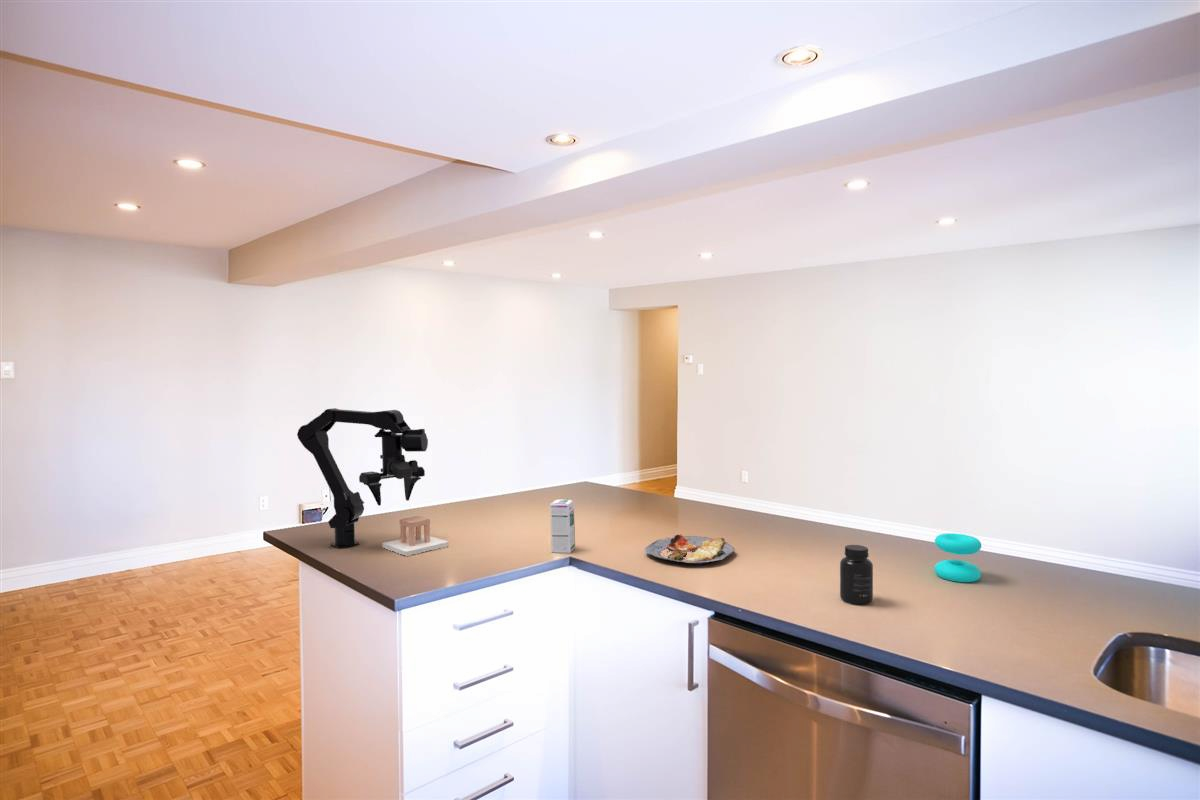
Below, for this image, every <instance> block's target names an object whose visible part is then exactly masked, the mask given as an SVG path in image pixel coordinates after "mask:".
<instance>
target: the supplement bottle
mask: <svg viewBox="0 0 1200 800" xmlns="http://www.w3.org/2000/svg"><path fill="white" fill-rule="evenodd" d="M873 591H874V564H873V561H871V559H869V548H868V547H866V546H864V545H861V544H847V545H846V546H844V556H843V558H841V560H840V563H839V595H840V599H841V600H842V601H843V602H845V603H846V604H849V603H850V605H856V606H867V605H870V604H871V603H872V602H873V599H874V597H873V596H874V592H873Z"/></svg>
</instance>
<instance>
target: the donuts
mask: <svg viewBox="0 0 1200 800" xmlns="http://www.w3.org/2000/svg"><path fill="white" fill-rule="evenodd" d="M934 543H935V545H936V547H937V548H938V549H940V550H941V551H943V552H945V553H948V554H954V555H961V556H962V555H963V556H965V555H966V556H968V555H974V554H976V553H978V552H980V551H981V548H982V542H981V541H980V540H979V539H978V538H976V537H975V536H971V535H967V534H962V533H946V532H945V533H941V534H938V535H936V536H935V538H934ZM934 572H935V574H936V575H937V576H938V577H940V578H941V579H944V580H947V581H952V582H957V583H958V582H959V583H973V582H974V583H975V582H977V581H979V579H980V578H981V576H982V573H981V572H982V571H981V570H980V568H979V567H977V566H976V565H975V564H973V563H971V562H968V561H965V560H959V559H944V560H940V561H938V562H937V563H936V564H935V566H934Z"/></svg>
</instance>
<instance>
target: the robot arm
mask: <svg viewBox="0 0 1200 800" xmlns="http://www.w3.org/2000/svg"><path fill="white" fill-rule="evenodd" d="M336 423H344V424H345V423H347V424H357V425H358V424H359V425H369V426H372V427H374V428H376V429H377V428H378V429H379V430H378V432H376V434H374V436H373V437H375V438H381V454H380V455H379V456H380V459H381V461H382V468H380V472H377V471H366V472H361V473H360V474H359V476H358V480H359V483H362V484H363V485H365V486H367V487H368V488H369V491H370V492H371V494H372V496H373V498H374V500H375V502H376V504H377V506H382V505H381V504H382V495H381V494H382V493H381V487H382V482H381V480H387V479H392V478H396V479H397V480H402V479H403V485H404V486H403V487H404V497H405V500H406V501H410V498H411V496H412V495H411V494H412V492H413V489H414V486H415V484H416V483H417V482H418V481H420V480H421V479H422V477H425V475H426V473H425V472H426V471H425V469H424V467H422V466H419V465H418V460H416V459H412V460H409V461H406V457H405V454H403V450H404V451H405V452H411V453H412V452H415V453H417V452H426V451H427V449H428V447H429V446H428V444H429V438H428V437H427V434H426V433H425V432H426V431H425V428H419V429H418V428H417V429H411V428H410V426H409V425H408V423H407V422H406V421H405V419H404V415H403V413H402V412H401V411H400V410H398V409H390V410H380V411H366V410H365V411H363V410H353V409H352V410H350V409H340V408H335V407H334V408H326V409H325V410H324V411H323V412H322V413H321V414H319V415H318V416H317V417H315V418H313V419H312V420H311V421H309V422H308V423H307V424H304V425H301V426H299V428H298V431H297V434H296V435H297V438H298V439H297V440H299V442H300V443H301V445H302V446H303V447H304V448H305V450H307V451H308V452H309V453H310V454H312V455H313V457H314V459H315V462H316V463H317V466H318V468H319V470H320V472H321V474H322V475H323V478H324V479H325V482H326V484H327V486H328V487H329V490H330V493H331V494H332V497H333V508H334V512H335V514H334V515H333V516H332V517H331V518H330V519H329V520H328V525H329V528H330V529H334V542H330V546H332V547H335V548H337V549H343V548H347V547H352V546H356V545H360V543H361V542H360V541H356V535H355V534H356V532H355V528H356V527H355V523H357V522H358V521H359V518H360V517H361V516H362V515H363V513H364V511H365V506H364V504H365V502H364V501H363V499H362V497H361V495H360V492H359V491H356V492H353V491H351V490H350V489H349V486H348V484H347V482H346V480H345V479H344V476H343V474H342V472H341V470H340V469H339V466H338V464H337V463H336V460H335V458H334V456H333V454H332V451H331V450H330V448H329V447H330V445H329V440H330V439H329V436H328V432H329V431H330V430H331V429H332V428H333V426H335V424H336Z"/></svg>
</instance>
